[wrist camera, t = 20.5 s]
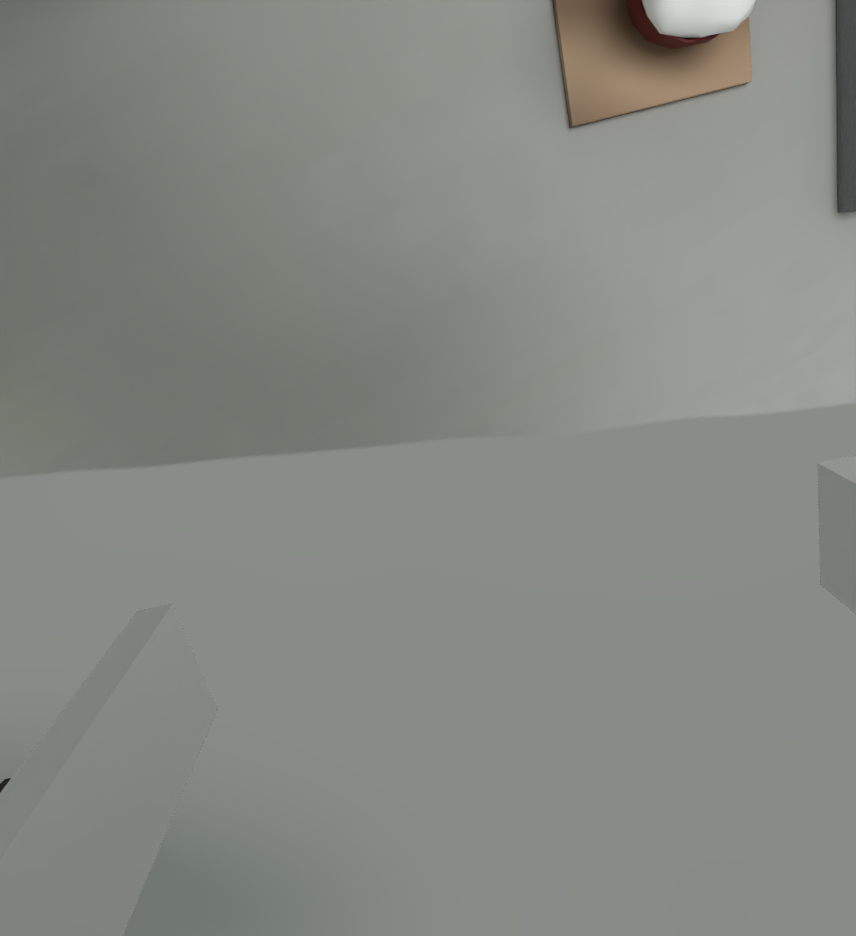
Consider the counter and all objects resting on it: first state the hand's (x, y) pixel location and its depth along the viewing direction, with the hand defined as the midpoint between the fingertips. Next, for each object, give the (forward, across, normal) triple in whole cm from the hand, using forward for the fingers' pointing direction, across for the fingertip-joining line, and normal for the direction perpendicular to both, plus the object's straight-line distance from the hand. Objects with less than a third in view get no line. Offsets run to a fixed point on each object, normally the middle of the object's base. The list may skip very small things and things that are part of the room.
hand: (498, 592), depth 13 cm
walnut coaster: (+29, +15, +16) cm, 36 cm away
